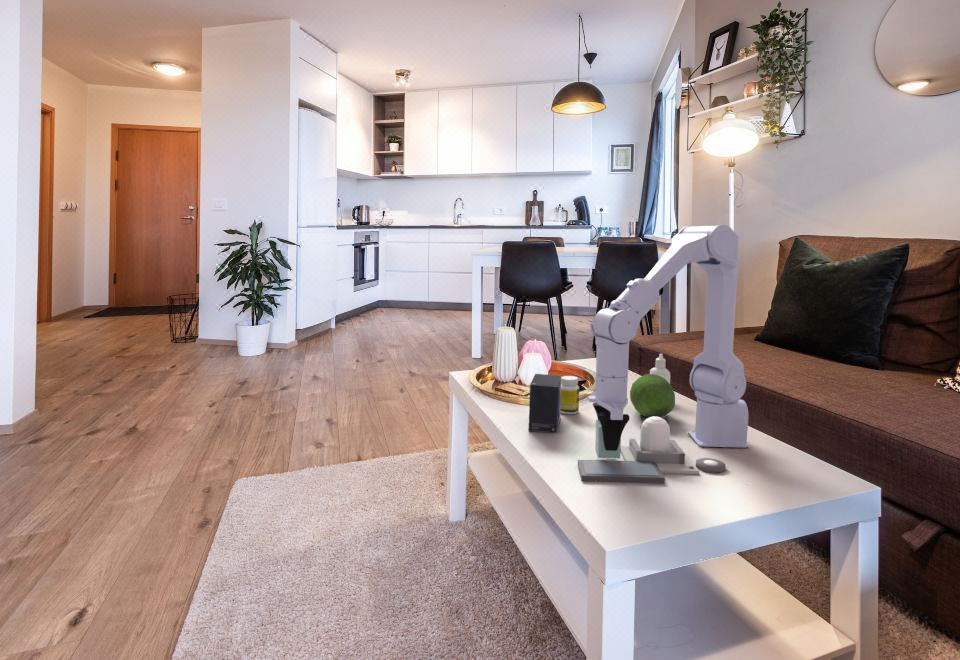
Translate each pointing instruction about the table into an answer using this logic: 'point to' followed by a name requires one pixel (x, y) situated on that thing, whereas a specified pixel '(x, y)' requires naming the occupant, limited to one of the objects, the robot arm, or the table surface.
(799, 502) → the table surface
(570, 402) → the supplement bottle
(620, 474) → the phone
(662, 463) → the grey piece
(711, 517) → the table surface
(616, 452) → the plug block
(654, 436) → the capsule
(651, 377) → the fruit
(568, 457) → the table surface
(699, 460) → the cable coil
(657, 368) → the eye dropper bottle
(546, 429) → the small box
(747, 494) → the table surface
